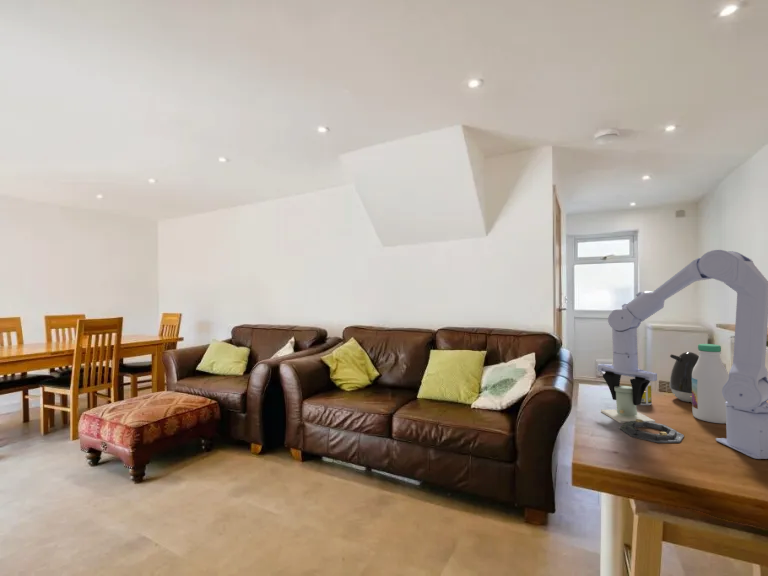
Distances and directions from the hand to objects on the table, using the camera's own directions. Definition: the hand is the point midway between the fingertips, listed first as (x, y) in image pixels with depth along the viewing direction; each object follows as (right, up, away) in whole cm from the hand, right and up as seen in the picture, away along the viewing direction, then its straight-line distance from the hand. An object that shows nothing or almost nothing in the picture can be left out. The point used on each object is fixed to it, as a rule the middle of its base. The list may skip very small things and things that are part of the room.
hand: (626, 401), depth 100 cm
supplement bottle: (+13, -4, +12) cm, 18 cm away
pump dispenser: (+29, -4, +13) cm, 32 cm away
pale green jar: (0, -3, 0) cm, 3 cm away
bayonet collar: (-1, -4, -11) cm, 12 cm away
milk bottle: (+21, -4, -3) cm, 22 cm away
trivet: (0, -4, 0) cm, 4 cm away
